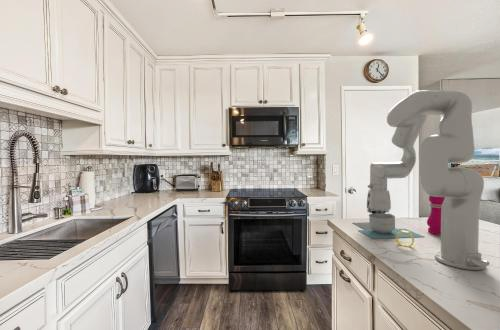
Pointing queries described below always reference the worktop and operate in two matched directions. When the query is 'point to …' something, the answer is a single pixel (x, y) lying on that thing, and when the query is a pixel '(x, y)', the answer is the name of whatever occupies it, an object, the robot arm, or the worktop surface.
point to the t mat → (375, 235)
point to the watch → (404, 233)
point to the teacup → (382, 222)
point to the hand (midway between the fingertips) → (377, 223)
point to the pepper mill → (435, 215)
